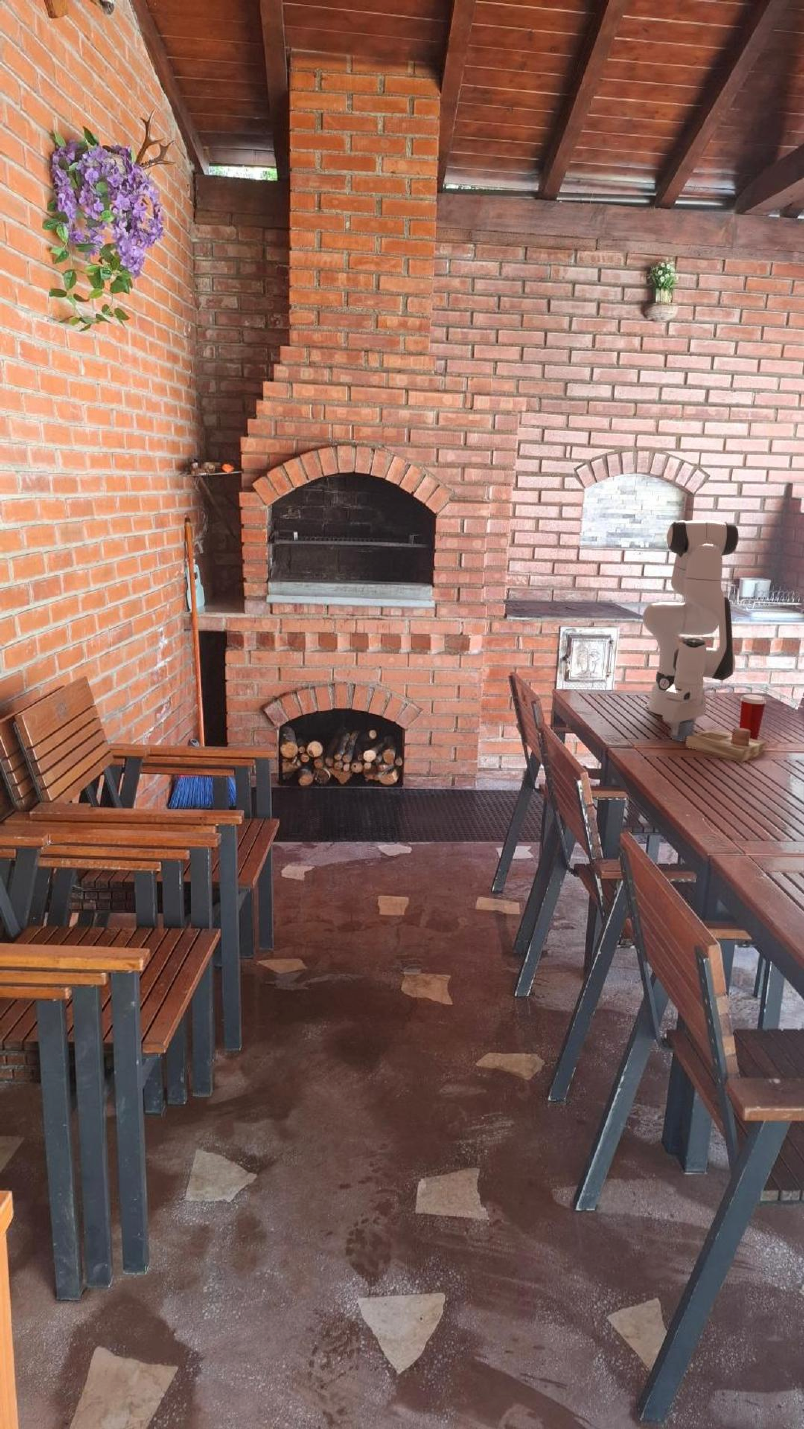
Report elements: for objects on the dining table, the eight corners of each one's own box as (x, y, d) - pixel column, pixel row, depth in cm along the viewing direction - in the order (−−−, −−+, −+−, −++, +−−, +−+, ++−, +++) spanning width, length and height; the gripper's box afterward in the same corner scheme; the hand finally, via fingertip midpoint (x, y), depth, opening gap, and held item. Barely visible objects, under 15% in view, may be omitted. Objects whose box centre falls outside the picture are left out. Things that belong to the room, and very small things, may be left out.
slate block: (678, 736, 294) (680, 718, 293) (692, 739, 291) (694, 721, 289) (669, 738, 291) (672, 720, 289) (683, 742, 287) (686, 724, 286)
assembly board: (710, 739, 291) (713, 716, 290) (764, 753, 279) (767, 729, 277) (685, 747, 282) (688, 724, 280) (740, 762, 269) (743, 737, 267)
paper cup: (761, 738, 296) (767, 696, 292) (759, 743, 289) (766, 701, 285) (736, 734, 299) (741, 692, 295) (733, 740, 292) (739, 697, 288)
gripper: (695, 684, 296) (690, 725, 299) (661, 692, 282) (656, 735, 286) (713, 688, 291) (708, 730, 295) (679, 696, 278) (674, 740, 281)
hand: (682, 732), depth 290 cm, fingers open, 6 cm apart
